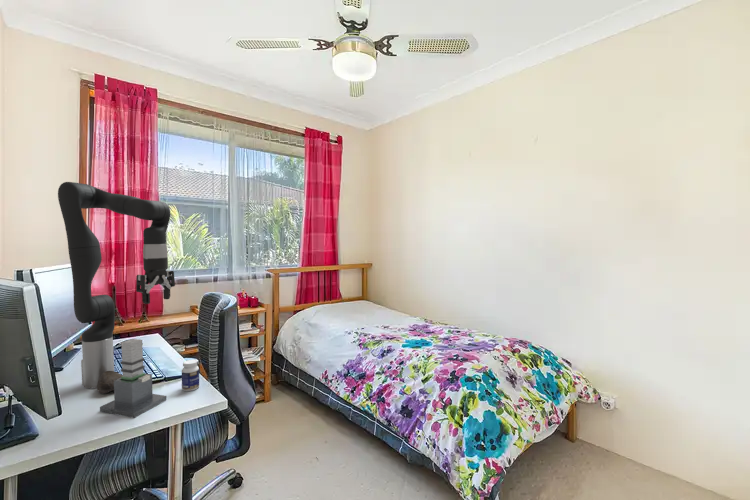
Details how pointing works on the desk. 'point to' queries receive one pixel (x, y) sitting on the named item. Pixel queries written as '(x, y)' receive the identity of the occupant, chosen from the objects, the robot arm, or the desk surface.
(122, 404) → the stand
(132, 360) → the column
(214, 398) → the desk surface
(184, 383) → the pill bottle
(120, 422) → the desk surface
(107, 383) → the stone
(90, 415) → the desk surface
